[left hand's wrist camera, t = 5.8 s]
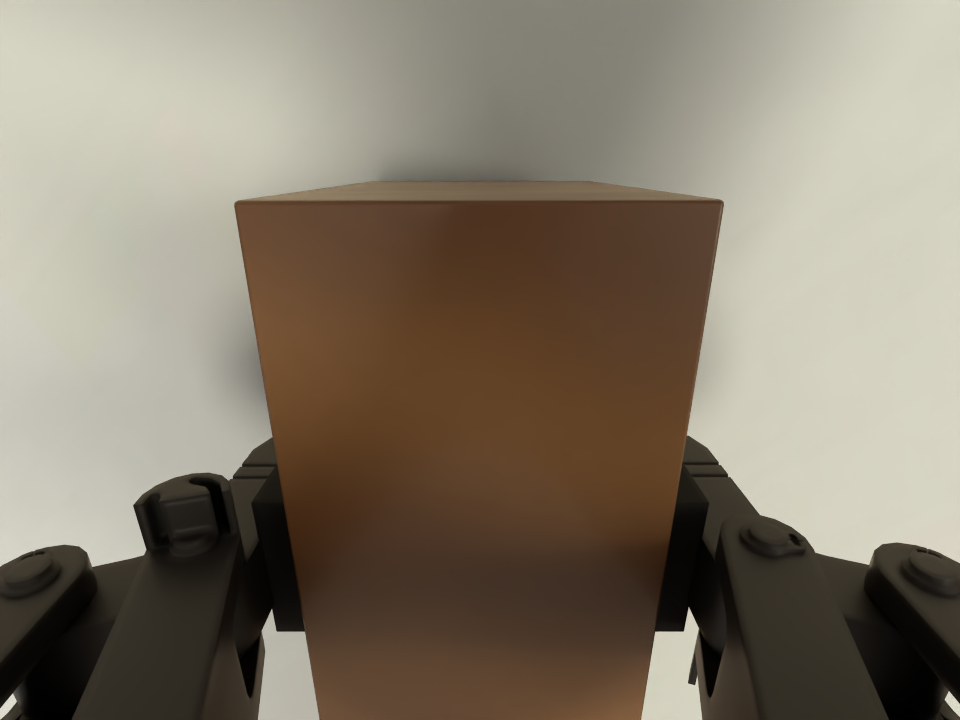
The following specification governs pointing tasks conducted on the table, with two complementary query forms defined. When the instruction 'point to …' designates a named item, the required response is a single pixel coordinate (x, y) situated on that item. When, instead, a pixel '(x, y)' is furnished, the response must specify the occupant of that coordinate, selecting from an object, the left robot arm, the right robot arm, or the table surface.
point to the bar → (479, 434)
